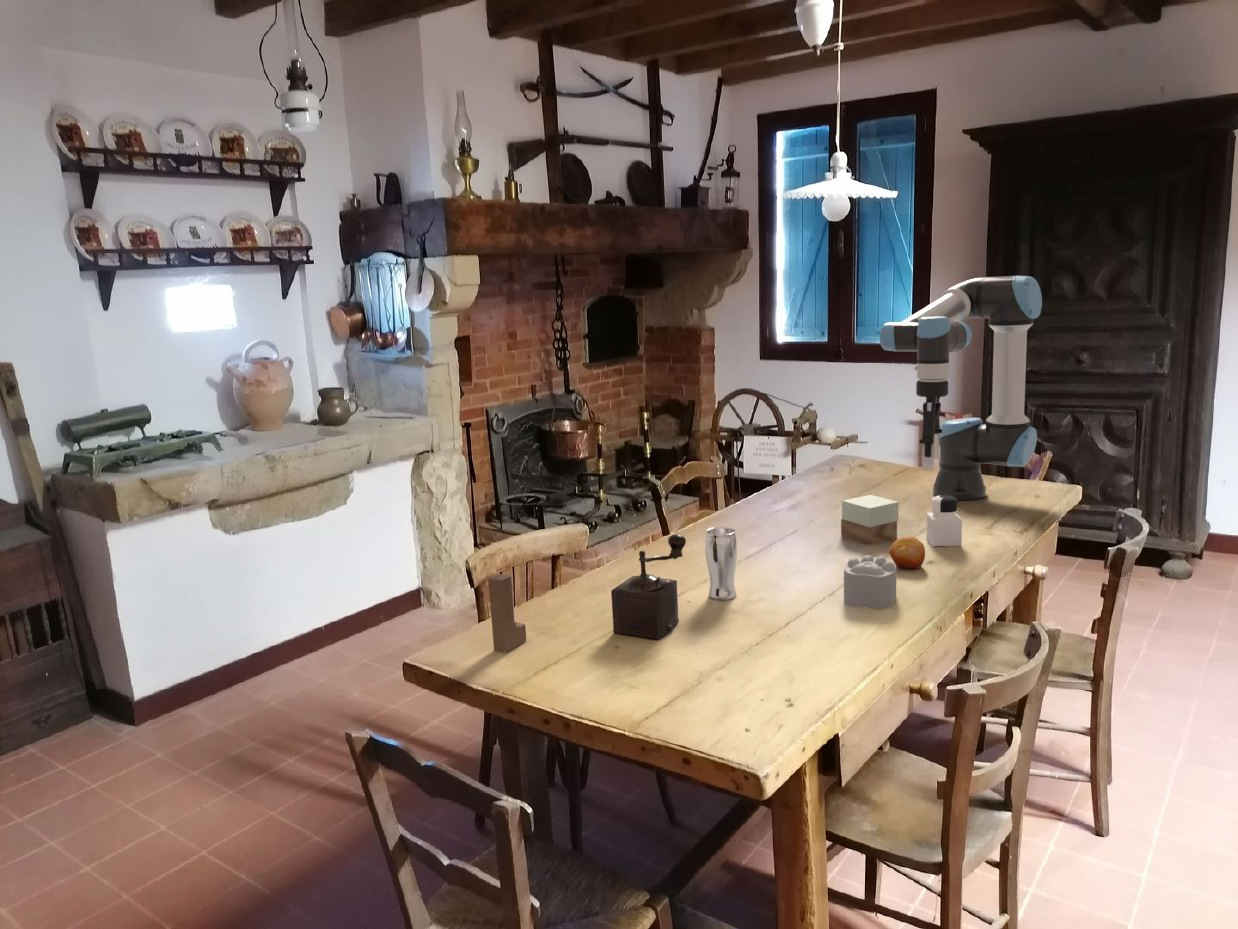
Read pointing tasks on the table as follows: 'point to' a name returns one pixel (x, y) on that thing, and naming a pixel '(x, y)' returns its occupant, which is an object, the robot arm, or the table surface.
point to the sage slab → (870, 510)
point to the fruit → (907, 553)
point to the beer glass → (721, 561)
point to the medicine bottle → (944, 522)
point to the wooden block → (504, 615)
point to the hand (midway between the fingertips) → (930, 464)
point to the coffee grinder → (647, 600)
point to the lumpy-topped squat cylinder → (870, 582)
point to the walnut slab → (868, 532)
